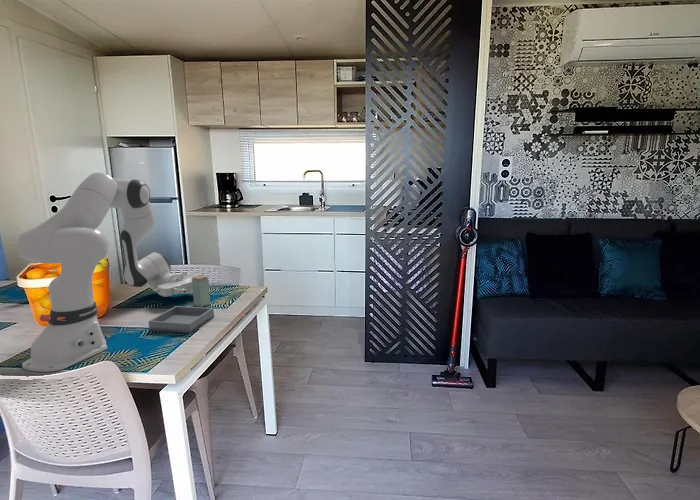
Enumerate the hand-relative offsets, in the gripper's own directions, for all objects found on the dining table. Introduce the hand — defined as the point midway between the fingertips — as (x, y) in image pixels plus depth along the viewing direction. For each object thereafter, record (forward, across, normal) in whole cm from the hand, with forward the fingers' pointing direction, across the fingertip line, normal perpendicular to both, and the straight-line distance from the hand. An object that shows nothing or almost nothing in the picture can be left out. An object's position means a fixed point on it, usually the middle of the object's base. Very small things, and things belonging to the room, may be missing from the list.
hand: (193, 288), depth 169 cm
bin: (+15, -17, +6) cm, 24 cm away
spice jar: (+4, 0, +6) cm, 8 cm away
